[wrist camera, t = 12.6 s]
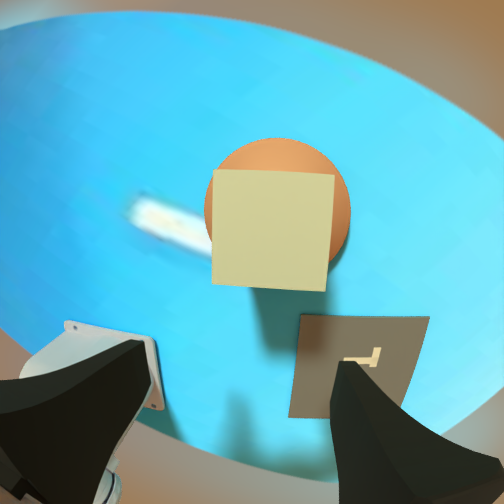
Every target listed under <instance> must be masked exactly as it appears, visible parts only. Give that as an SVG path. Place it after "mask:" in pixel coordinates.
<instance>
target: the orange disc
mask: <svg viewBox="0 0 504 504" xmlns="http://www.w3.org/2000/svg"><path fill="white" fill-rule="evenodd" d="M217 169H228V170H265V171H287V172H304V173H318V174H331V175H335V181H334V199H333V214H332V227H331V239H330V250H329V261H328V263H329V262H330V261H331V260H332V259H333V258H334V257H335V255H336V254H337V253H338V251H339V250H340V248H341V246H342V245H343V243H344V240H345V238H346V236H347V232H348V229H349V224H350V217H351V206H350V198H349V194H348V190H347V187H346V185H345V182H344V180H343V178H342V176H341V174H340V173H339V171H338V170H337V168H336V167H335V166H334V164H333V163H332V162H331V161H330V160H329V159H328V158H327V157H326V156H325V155H323V154H322V153H321V152H319V151H318V150H317V149H315V148H313V147H311V146H309V145H307V144H305V143H302V142H300V141H296V140H292V139H285V138H268V139H262V140H258V141H254V142H251V143H249V144H247V145H244V146H242V147H241V148H239V149H237V150H236V151H234V152H233V153H232V154H230V155H229V156H228V157H227V158H226V159H225V160H224V161H223V162H222V163H221V164H220V166H219V167H218V168H217ZM212 201H213V177H212V179H211V181H210V183H209V186H208V189H207V192H206V197H205V204H204V216H205V223H206V228H207V231H208V234H209V237H210V239H211V242H212Z"/></svg>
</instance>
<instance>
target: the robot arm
mask: <svg viewBox="0 0 504 504" xmlns="http://www.w3.org/2000/svg"><path fill="white" fill-rule="evenodd" d="M64 327H65V332H63V333H62V334H61V335H60V336H58V337H57V338H56V339H54V340H53V341H52V342H50V343H49V344H48V345H46V346H45V347H44V348H43V349H41V350H40V351H39V352H37V353H36V354H35V355H34V356H32V357H31V358H30V359H29V360H28V361H27V362H26V364H25V365H24V367H23V369H22V371H21V374H20V377H19V379H13V380H0V504H119V502H120V499H121V488H122V485H121V479H120V477H119V476H118V475H117V474H116V473H114V471H115V470H116V468H117V466H118V464H119V462H120V461H119V460H118V459H117V458H116V457H115V456H114V454H115V452H116V450H117V449H118V447H119V445H120V444H121V442H122V440H123V439H124V437H125V435H126V434H127V432H128V431H129V429H130V427H131V426H132V424H133V423H134V421H135V419H136V418H137V416H138V415H139V413H140V411H141V410H142V408H143V407H146V408H151V409H155V410H159V411H162V410H164V408H165V403H164V398H163V393H162V387H161V381H160V375H159V369H158V362H157V355H156V348H155V342H154V340H153V338H151V337H150V336H145V335H139V334H133V333H128V332H123V331H117V330H112V329H107V328H103V327H98V326H93V325H89V324H84V323H80V322H75V321H71V320H66V321H65V322H64ZM76 327H77V328H76ZM141 340H143V341H141ZM330 426H331V433H332V439H333V445H334V451H335V457H336V463H337V470H338V478H339V504H492V503H493V502H494V501H495V500H496V499H497V498H498V497H499V496H500V495H501V494H502V493H503V492H504V468H503V466H502V464H501V462H500V461H499V459H498V458H495V457H491V456H488V455H484V454H481V453H478V452H474V451H472V450H469V449H467V448H464V447H462V446H460V445H457V444H455V443H453V442H451V441H449V440H447V439H445V438H443V437H441V436H440V435H438V434H436V433H435V432H433V431H431V430H430V429H428V428H426V427H425V426H423V425H422V424H421V423H419V422H418V421H416V420H415V419H414V418H412V417H411V416H410V415H408V414H407V413H406V412H405V411H404V410H402V409H401V408H400V407H399V406H398V405H397V404H396V403H395V402H393V401H392V400H391V399H390V398H389V397H388V396H387V395H386V394H385V393H384V392H383V391H382V390H381V389H380V388H379V387H378V386H377V384H376V383H375V382H374V381H373V380H372V379H371V378H370V377H369V376H368V375H367V373H366V372H365V371H364V370H363V369H362V368H361V367H360V365H359V364H358V363H357V362H356V361H339V363H338V368H337V372H336V377H335V381H334V386H333V390H332V394H331V399H330Z"/></svg>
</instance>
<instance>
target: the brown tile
mask: <svg viewBox="0 0 504 504" xmlns="http://www.w3.org/2000/svg"><path fill="white" fill-rule="evenodd" d="M429 319H430V317H429V316H409V317H390V316H338V315H312V314H301V319H300V329H299V338H298V347H297V355H296V363H295V371H294V379H293V386H292V394H291V401H290V408H289V414H288V418H330V399H331V394H332V390H333V386H334V381H335V377H336V372H337V368H338V363H339V361H356V362H357V363H358V364H359V365H360V367H361V368H362V369H363V370H364V371H365V372H366V373H367V375H368V376H369V377H370V378H371V379H372V380H373V381H374V382H375V383H376V384H377V386H378V387H379V388H380V389H381V390H382V391H383V392H384V393H385V394H386V395H387V396H388V397H389V398H390V399H391V400H392V401H393V402H395V403H396V404H397V405H398V406H399V407H401V404H402V402H403V399H404V397H405V394H406V392H407V389H408V386H409V384H410V381H411V378H412V375H413V372H414V369H415V366H416V363H417V360H418V357H419V354H420V351H421V348H422V344H423V341H424V337H425V334H426V330H427V326H428V323H429Z"/></svg>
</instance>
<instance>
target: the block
mask: <svg viewBox="0 0 504 504" xmlns="http://www.w3.org/2000/svg"><path fill="white" fill-rule="evenodd" d="M334 181H335V175H331V174H318V173H304V172H287V171H265V170H228V169H213V201H212V284H219V285H231V286H244V287H258V288H273V289H289V290H306V291H324V292H325V288H326V279H327V270H328V261H329V250H330V239H331V227H332V214H333V199H334Z"/></svg>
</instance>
